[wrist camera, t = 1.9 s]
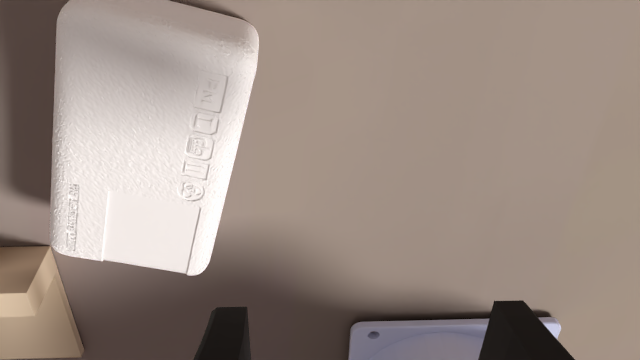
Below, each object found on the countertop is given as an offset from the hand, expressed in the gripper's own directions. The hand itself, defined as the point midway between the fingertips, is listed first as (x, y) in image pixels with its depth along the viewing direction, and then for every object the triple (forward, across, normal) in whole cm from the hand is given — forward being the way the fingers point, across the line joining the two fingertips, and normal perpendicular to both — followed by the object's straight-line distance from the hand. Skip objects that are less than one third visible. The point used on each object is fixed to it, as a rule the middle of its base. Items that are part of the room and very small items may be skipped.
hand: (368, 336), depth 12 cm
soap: (+10, +6, 0) cm, 12 cm away
